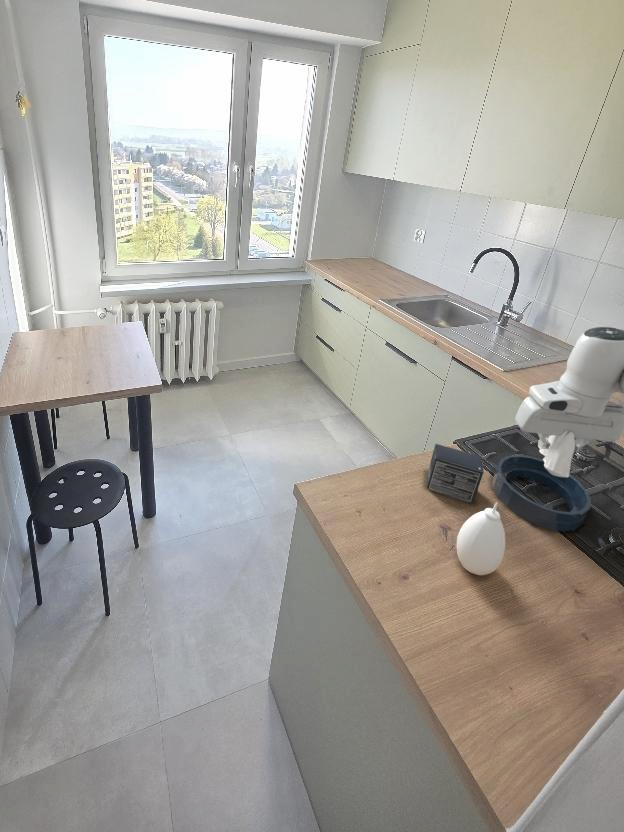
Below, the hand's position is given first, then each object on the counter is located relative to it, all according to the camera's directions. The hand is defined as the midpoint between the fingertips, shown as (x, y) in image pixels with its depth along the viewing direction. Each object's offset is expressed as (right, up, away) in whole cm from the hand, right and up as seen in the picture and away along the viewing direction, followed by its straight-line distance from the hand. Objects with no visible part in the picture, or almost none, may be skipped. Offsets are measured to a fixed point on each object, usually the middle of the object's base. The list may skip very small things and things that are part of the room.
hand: (557, 449), depth 95 cm
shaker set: (0, -4, +2) cm, 5 cm away
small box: (-20, -13, +9) cm, 26 cm away
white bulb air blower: (-25, -21, -10) cm, 34 cm away
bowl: (-1, -15, +6) cm, 16 cm away
